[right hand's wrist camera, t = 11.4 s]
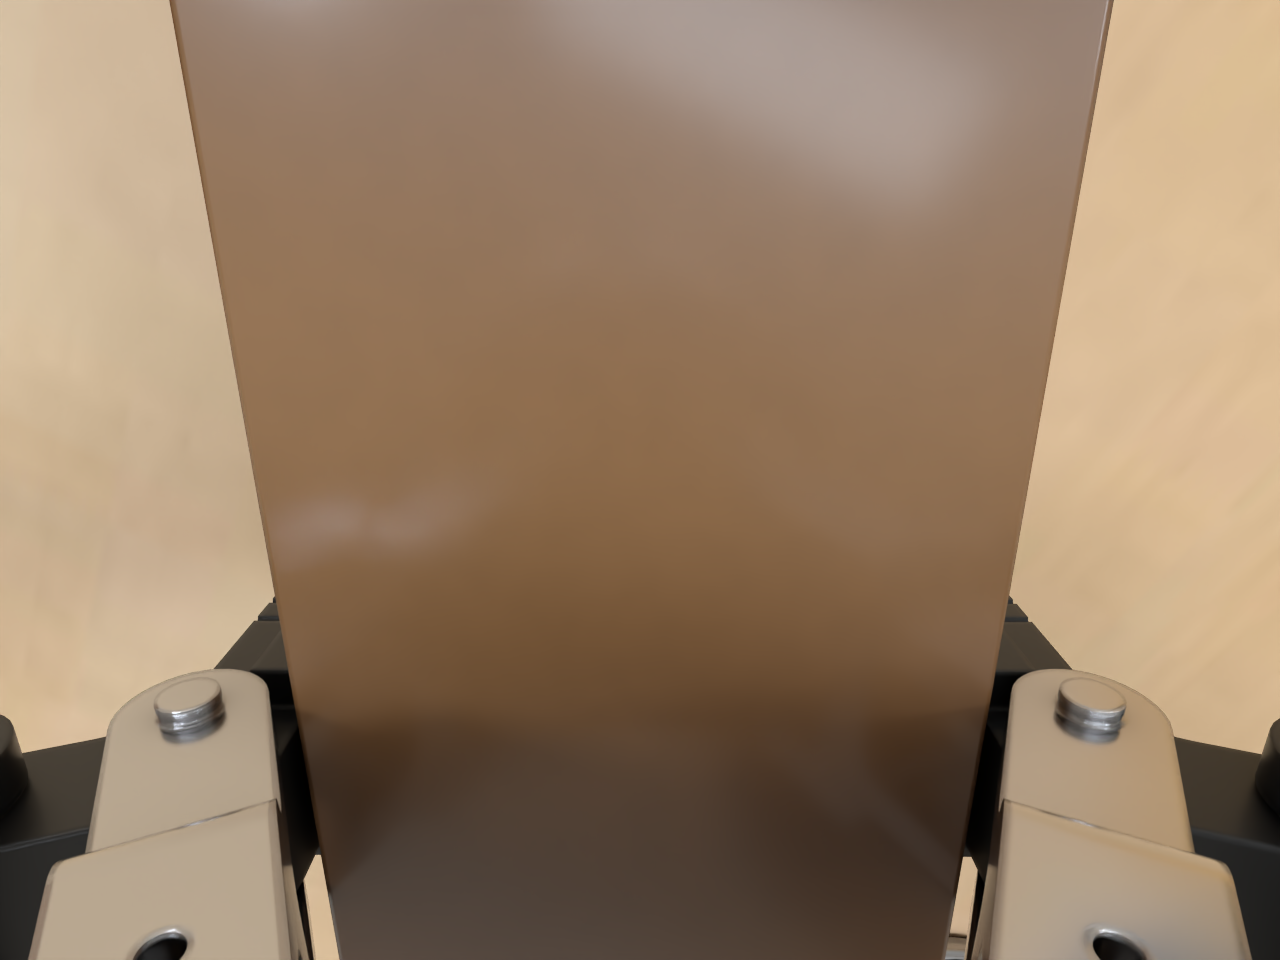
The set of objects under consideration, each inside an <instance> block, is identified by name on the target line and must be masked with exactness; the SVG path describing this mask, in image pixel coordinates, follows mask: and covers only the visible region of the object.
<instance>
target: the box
mask: <svg viewBox="0 0 1280 960" xmlns="http://www.w3.org/2000/svg"><path fill="white" fill-rule="evenodd" d="M169 1H170V6H171V12H172V18H173V23H174V29H175V34H176V40H177V46H178V51H179V57H180V63H181V68H182V74H183V80H184V85H185V91H186V96H187V102H188V108H189V113H190V119H191V125H192V130H193V136H194V142H195V147H196V153H197V158H198V164H199V170H200V175H201V181H202V187H203V192H204V198H205V204H206V209H207V215H208V220H209V226H210V232H211V237H212V243H213V249H214V254H215V260H216V266H217V271H218V277H219V282H220V288H221V294H222V299H223V305H224V311H225V316H226V322H227V328H228V333H229V339H230V344H231V350H232V356H233V361H234V367H235V373H236V378H237V384H238V390H239V395H240V401H241V406H242V412H243V418H244V423H245V429H246V435H247V440H248V446H249V452H250V457H251V463H252V468H253V474H254V480H255V485H256V491H257V497H258V502H259V508H260V514H261V519H262V525H263V530H264V536H265V542H266V547H267V553H268V559H269V564H270V570H271V576H272V581H273V587H274V592H275V598H276V604H277V609H278V615H279V621H280V626H281V632H282V638H283V643H284V649H285V654H286V660H287V666H288V671H289V677H290V683H291V688H292V694H293V700H294V705H295V711H296V716H297V722H298V728H299V733H300V739H301V745H302V750H303V756H304V762H305V767H306V773H307V778H308V784H309V790H310V795H311V801H312V807H313V812H314V818H315V824H316V829H317V835H318V840H319V846H320V852H321V857H322V863H323V869H324V874H325V880H326V886H327V891H328V897H329V902H330V908H331V914H332V919H333V925H334V931H335V936H336V942H337V948H338V953H339V959H340V960H945V956H946V950H947V945H948V939H949V933H950V928H951V922H952V916H953V911H954V905H955V899H956V893H957V888H958V882H959V876H960V871H961V865H962V859H963V854H964V848H965V842H966V837H967V831H968V825H969V820H970V814H971V808H972V803H973V797H974V791H975V785H976V780H977V774H978V768H979V763H980V757H981V751H982V746H983V740H984V734H985V729H986V723H987V717H988V712H989V706H990V700H991V695H992V689H993V683H994V677H995V672H996V666H997V660H998V655H999V649H1000V643H1001V638H1002V632H1003V626H1004V621H1005V615H1006V609H1007V604H1008V598H1009V592H1010V587H1011V581H1012V575H1013V569H1014V564H1015V558H1016V552H1017V547H1018V541H1019V535H1020V530H1021V524H1022V518H1023V513H1024V507H1025V501H1026V496H1027V490H1028V484H1029V479H1030V473H1031V467H1032V461H1033V456H1034V450H1035V444H1036V439H1037V433H1038V427H1039V422H1040V416H1041V410H1042V405H1043V399H1044V393H1045V388H1046V382H1047V376H1048V370H1049V365H1050V359H1051V353H1052V348H1053V342H1054V336H1055V331H1056V325H1057V319H1058V314H1059V308H1060V302H1061V297H1062V291H1063V285H1064V280H1065V274H1066V268H1067V262H1068V257H1069V251H1070V245H1071V240H1072V234H1073V228H1074V223H1075V217H1076V211H1077V206H1078V200H1079V194H1080V189H1081V183H1082V177H1083V172H1084V166H1085V160H1086V154H1087V149H1088V143H1089V137H1090V132H1091V126H1092V120H1093V115H1094V109H1095V103H1096V98H1097V92H1098V86H1099V81H1100V75H1101V69H1102V64H1103V58H1104V52H1105V46H1106V41H1107V35H1108V29H1109V24H1110V18H1111V12H1112V7H1113V1H1114V0H169Z"/></svg>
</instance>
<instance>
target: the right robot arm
mask: <svg viewBox="0 0 1280 960" xmlns="http://www.w3.org/2000/svg"><path fill="white" fill-rule="evenodd" d="M315 855H321V852H320V846H319V840H318V835H317V829H316V824H315V818H314V812H313V807H312V801H311V795H310V790H309V784H308V778H307V773H306V767H305V762H304V756H303V750H302V745H301V739H300V733H299V728H298V722H297V716H296V711H295V705H294V700H293V694H292V688H291V683H290V677H289V671H288V666H287V660H286V654H285V649H284V643H283V638H282V632H281V626H280V621H279V615H278V609H277V604H276V598H275V597H274V598H273V603H269V604H268V605H267V606H266V607H265V609H264V610H263V611H262V612H261V613H260V615H259V616H258V621H254V622H253V623H252V624H251V625H250V626H249V628H248V629H247V630H246V631H245V632H244V634H243V635H242V636H241V637H240V638H239V640H238V641H237V642H236V643H235V644H234V645H233V647H232V648H231V649H230V650H229V651H228V653H227V654H226V655H225V656H224V657H223V659H222V660H221V661H220V662H219V663H218V664H217V666H216V667H215V668H214V669H212V670H204V671H198V672H193V673H189V674H185V675H181V676H178V677H175V678H172V679H169V680H166V681H164V682H162V683H159V684H157V685H155V686H153V687H151V688H149V689H147V690H145V691H143V692H141V693H140V694H138V695H137V696H135V697H134V698H132V699H131V700H130V701H128V702H127V703H126V704H125V705H124V706H122V707H121V709H120V710H119V711H118V712H117V713H116V714H115V715H114V717H113V718H112V720H111V722H110V724H109V727H108V730H107V736H106V737H103V738H98V739H94V740H88V741H83V742H78V743H73V744H68V745H63V746H57V747H52V748H47V749H42V750H37V751H32V752H26V753H22V752H21V749H20V746H19V743H18V739H17V736H16V733H15V730H14V727H13V725H12V723H11V721H10V720H9V719H7V718H6V717H5V716H3V715H0V960H316V956H315V948H314V940H313V933H312V925H311V918H310V910H309V902H308V896H307V891H306V886H305V881H304V878H305V875H306V873H307V871H308V869H309V867H310V865H311V863H312V861H313V858H314V856H315ZM963 857H972V859H973V861H974V863H975V865H976V867H977V869H978V870H977V876H976V881H975V886H974V892H973V897H972V903H971V911H970V918H969V926H968V933H967V939H965V938H955V937H949V939H948V945H947V950H946V956H945V960H1280V719H1278V720H1277V721H1275V722H1274V723H1273V725H1272V727H1271V728H1270V731H1269V734H1268V737H1267V740H1266V743H1265V746H1264V750H1263V753H1262V754H1257V753H1251V752H1246V751H1241V750H1236V749H1231V748H1226V747H1220V746H1215V745H1210V744H1205V743H1200V742H1195V741H1190V740H1186V739H1181V738H1177V737H1174V735H1173V730H1172V727H1171V724H1170V721H1169V720H1168V718H1167V717H1166V715H1165V714H1164V713H1163V712H1162V711H1161V710H1160V708H1159V707H1158V706H1156V705H1155V704H1154V703H1153V702H1152V701H1150V700H1149V699H1148V698H1146V697H1145V696H1143V695H1142V694H1140V693H1139V692H1137V691H1135V690H1133V689H1131V688H1129V687H1127V686H1125V685H1123V684H1121V683H1118V682H1116V681H1114V680H1111V679H1108V678H1105V677H1102V676H1099V675H1095V674H1091V673H1087V672H1082V671H1076V670H1072V669H1071V667H1070V666H1069V665H1068V664H1067V663H1066V662H1065V660H1064V659H1063V658H1062V657H1061V656H1060V655H1059V653H1058V652H1057V651H1056V650H1055V649H1054V648H1053V646H1052V645H1051V644H1050V643H1049V642H1048V640H1047V639H1046V638H1045V637H1044V636H1043V635H1042V633H1041V632H1040V631H1039V630H1038V629H1037V628H1036V626H1035V625H1034V624H1033V623H1032V622H1028V617H1027V616H1026V615H1025V613H1024V612H1023V611H1022V610H1021V609H1020V608H1019V606H1018V605H1017V604H1013V599H1012V598H1011V597H1010V596H1009V598H1008V604H1007V609H1006V615H1005V621H1004V626H1003V632H1002V638H1001V643H1000V649H999V655H998V660H997V666H996V672H995V677H994V683H993V689H992V695H991V700H990V706H989V712H988V717H987V723H986V729H985V734H984V740H983V746H982V751H981V757H980V763H979V768H978V774H977V780H976V785H975V791H974V797H973V803H972V808H971V814H970V820H969V825H968V831H967V837H966V842H965V848H964V854H963Z"/></svg>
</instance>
